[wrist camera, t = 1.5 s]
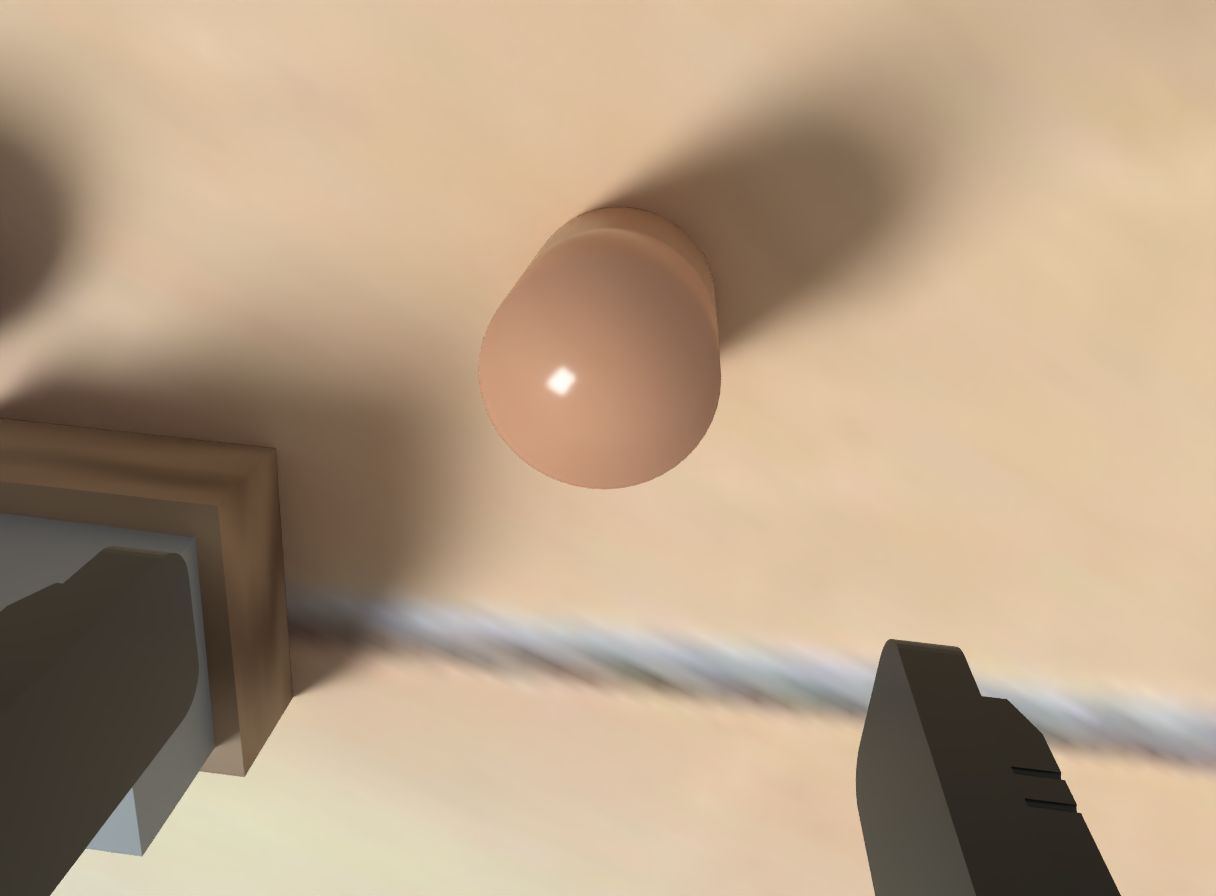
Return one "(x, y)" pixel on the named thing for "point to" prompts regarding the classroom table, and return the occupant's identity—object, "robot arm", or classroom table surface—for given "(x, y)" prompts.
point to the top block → (55, 550)
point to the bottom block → (186, 506)
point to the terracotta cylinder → (606, 352)
